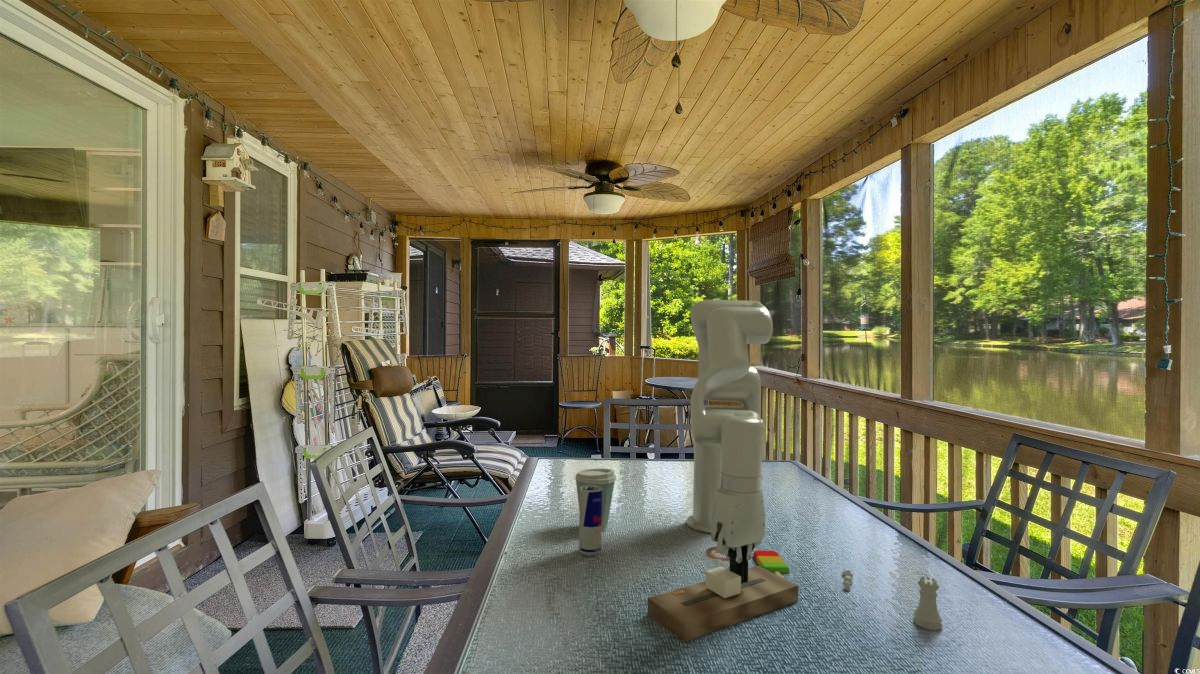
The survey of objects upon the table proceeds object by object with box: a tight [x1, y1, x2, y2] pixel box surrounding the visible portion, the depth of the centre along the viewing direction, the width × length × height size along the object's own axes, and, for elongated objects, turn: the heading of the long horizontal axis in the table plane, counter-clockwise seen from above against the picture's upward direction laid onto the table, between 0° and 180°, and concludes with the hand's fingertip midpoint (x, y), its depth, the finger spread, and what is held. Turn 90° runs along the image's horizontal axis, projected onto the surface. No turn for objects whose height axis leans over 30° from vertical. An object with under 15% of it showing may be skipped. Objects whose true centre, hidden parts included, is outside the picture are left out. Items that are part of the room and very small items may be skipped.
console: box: [647, 565, 799, 643], centre depth 101 cm, size 28×10×3 cm, turn 121°
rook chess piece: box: [912, 575, 943, 632], centre depth 96 cm, size 4×4×8 cm
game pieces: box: [841, 569, 854, 592], centre depth 112 cm, size 8×2×2 cm, turn 153°
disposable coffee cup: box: [574, 467, 617, 533], centre depth 141 cm, size 11×11×15 cm
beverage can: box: [578, 485, 603, 557], centre depth 125 cm, size 5×5×15 cm
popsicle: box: [753, 549, 790, 578], centre depth 118 cm, size 6×15×2 cm, turn 179°
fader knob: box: [705, 566, 741, 598], centre depth 101 cm, size 4×5×3 cm
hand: (738, 580), depth 103 cm, fingers closed
